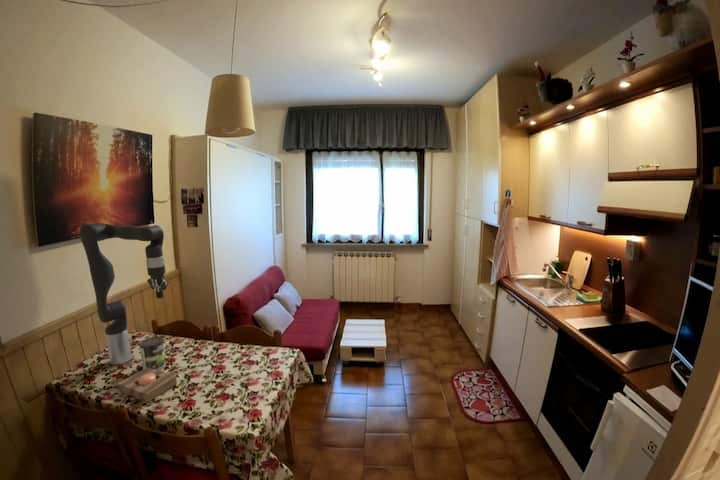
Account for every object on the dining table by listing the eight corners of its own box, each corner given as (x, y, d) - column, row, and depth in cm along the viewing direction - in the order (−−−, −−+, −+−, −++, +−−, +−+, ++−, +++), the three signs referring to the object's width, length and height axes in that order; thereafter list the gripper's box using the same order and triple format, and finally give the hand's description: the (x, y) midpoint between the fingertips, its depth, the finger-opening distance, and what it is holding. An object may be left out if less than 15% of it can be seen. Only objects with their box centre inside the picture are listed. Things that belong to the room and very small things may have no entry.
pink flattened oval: (136, 389, 145) (134, 380, 144) (150, 380, 151) (149, 372, 150) (145, 392, 142) (144, 383, 142) (160, 383, 149) (158, 375, 148)
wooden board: (118, 391, 144) (117, 383, 143) (148, 374, 157) (147, 366, 156) (148, 402, 137) (146, 394, 136) (176, 383, 150) (175, 375, 149)
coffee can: (170, 361, 168) (167, 337, 165) (154, 372, 158) (151, 347, 155) (154, 359, 170) (151, 335, 167) (137, 370, 160) (133, 345, 157)
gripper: (139, 265, 156) (144, 298, 159) (157, 268, 151) (162, 302, 154) (154, 262, 162) (158, 293, 166) (172, 264, 158) (175, 296, 161)
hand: (160, 297), depth 160 cm, fingers closed
